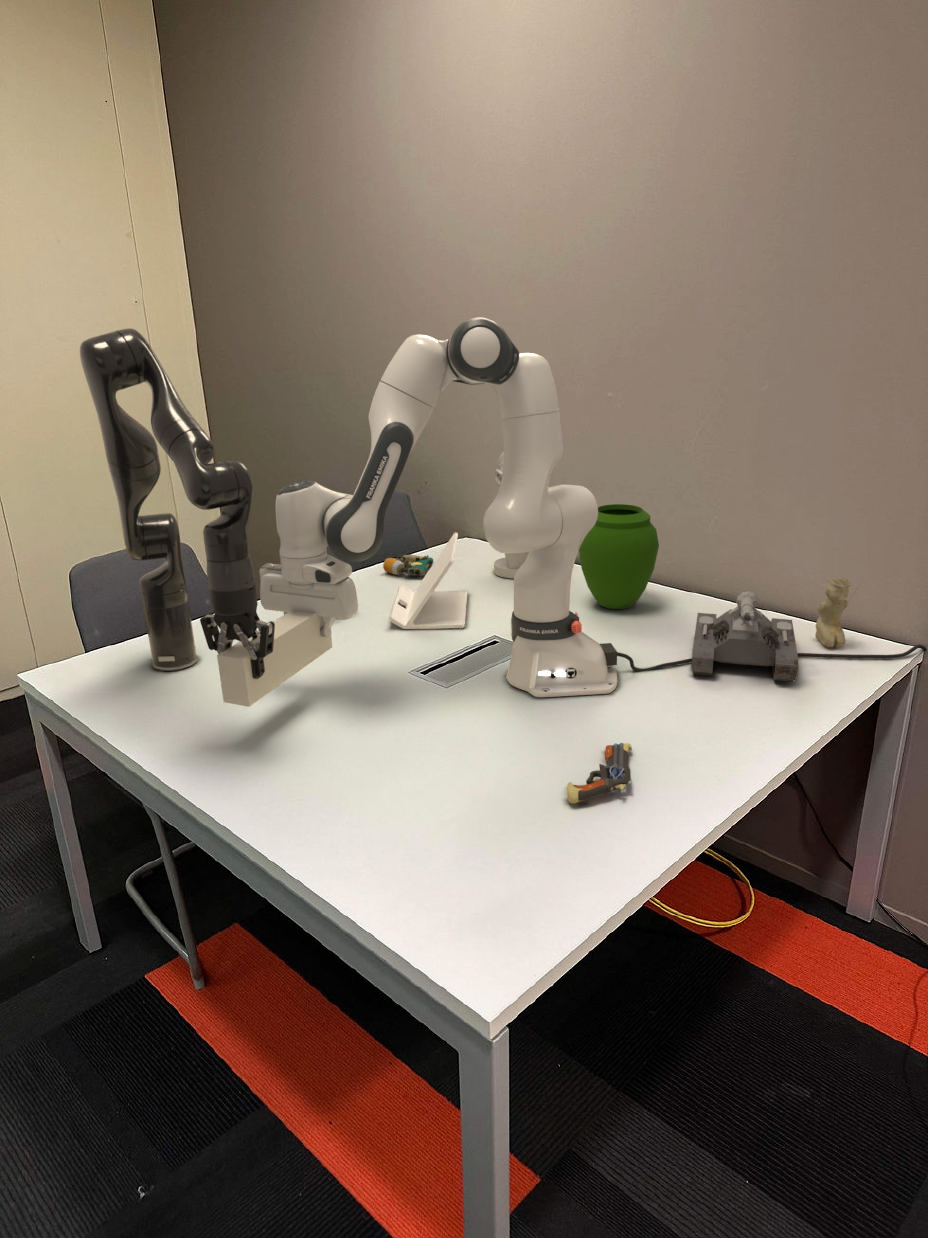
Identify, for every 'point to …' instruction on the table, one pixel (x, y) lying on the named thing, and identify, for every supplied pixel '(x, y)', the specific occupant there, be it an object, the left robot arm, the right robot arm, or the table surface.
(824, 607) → the sculpture
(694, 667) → the toy
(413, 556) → the spray gun
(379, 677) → the table surface
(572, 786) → the toy gun
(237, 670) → the bar
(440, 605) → the tablet stand
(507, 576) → the bust sculpture
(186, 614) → the left robot arm
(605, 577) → the vase
